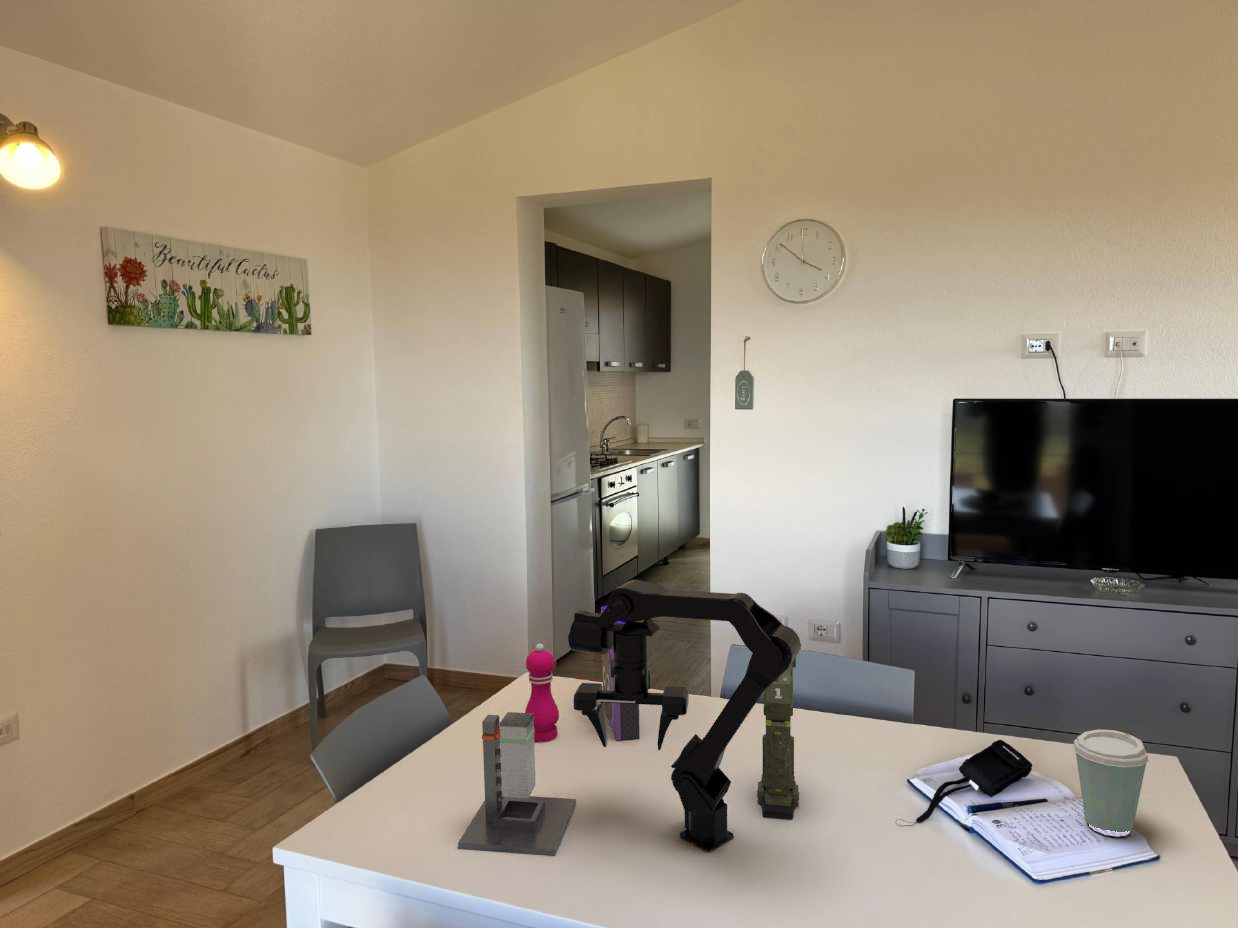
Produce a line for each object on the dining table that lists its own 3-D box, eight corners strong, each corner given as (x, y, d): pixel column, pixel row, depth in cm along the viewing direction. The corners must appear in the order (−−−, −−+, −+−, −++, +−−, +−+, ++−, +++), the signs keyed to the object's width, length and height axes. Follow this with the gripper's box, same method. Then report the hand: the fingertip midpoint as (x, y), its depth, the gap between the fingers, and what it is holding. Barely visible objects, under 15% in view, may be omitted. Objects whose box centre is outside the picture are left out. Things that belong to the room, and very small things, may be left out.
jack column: (535, 784, 143) (533, 713, 141) (528, 798, 138) (526, 724, 137) (509, 783, 143) (507, 711, 142) (501, 796, 139) (499, 722, 138)
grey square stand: (576, 804, 148) (574, 703, 146) (555, 855, 132) (552, 742, 130) (489, 798, 151) (485, 699, 149) (458, 848, 135) (454, 737, 133)
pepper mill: (520, 732, 178) (517, 641, 176) (552, 726, 181) (550, 636, 179) (531, 745, 172) (528, 651, 170) (564, 739, 175) (562, 645, 173)
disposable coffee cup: (1113, 851, 131) (1117, 759, 129) (1054, 818, 141) (1057, 732, 139) (1160, 836, 135) (1164, 746, 133) (1099, 805, 145) (1103, 721, 143)
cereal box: (603, 708, 190) (601, 605, 188) (623, 707, 191) (622, 604, 189) (616, 741, 173) (614, 628, 171) (639, 739, 174) (637, 626, 172)
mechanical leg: (799, 826, 138) (800, 640, 142) (755, 822, 139) (756, 638, 143) (798, 804, 151) (799, 635, 155) (758, 801, 153) (759, 633, 157)
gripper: (690, 643, 146) (691, 730, 147) (585, 640, 149) (586, 725, 150) (685, 665, 135) (686, 758, 136) (571, 661, 138) (573, 752, 139)
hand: (632, 747), depth 141 cm, fingers open, 9 cm apart
